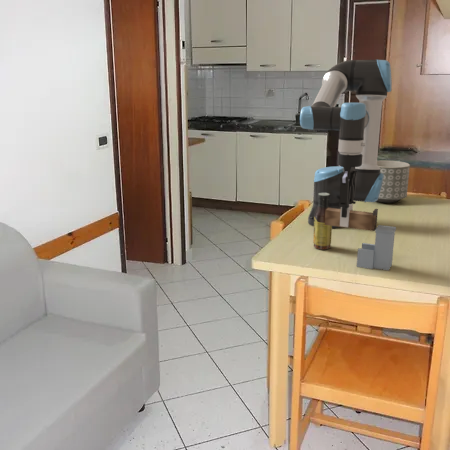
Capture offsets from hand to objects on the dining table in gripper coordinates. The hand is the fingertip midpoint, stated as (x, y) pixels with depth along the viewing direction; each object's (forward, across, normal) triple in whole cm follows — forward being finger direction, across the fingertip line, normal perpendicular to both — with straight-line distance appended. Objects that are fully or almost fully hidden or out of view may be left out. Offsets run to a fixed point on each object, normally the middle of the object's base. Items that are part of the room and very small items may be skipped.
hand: (345, 224), depth 173 cm
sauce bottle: (+13, +10, +10) cm, 19 cm away
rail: (0, 0, -2) cm, 2 cm away
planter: (+12, +91, +2) cm, 92 cm away
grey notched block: (+13, 0, -10) cm, 16 cm away
